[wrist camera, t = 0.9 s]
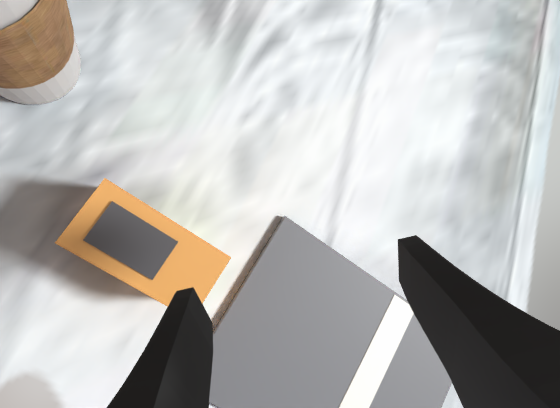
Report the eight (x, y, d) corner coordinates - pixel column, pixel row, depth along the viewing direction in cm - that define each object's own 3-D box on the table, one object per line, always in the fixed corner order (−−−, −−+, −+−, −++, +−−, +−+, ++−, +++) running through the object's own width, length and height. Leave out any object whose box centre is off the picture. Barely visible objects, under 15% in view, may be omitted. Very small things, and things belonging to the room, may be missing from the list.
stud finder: (184, 299, 25) (192, 320, 19) (80, 239, 23) (53, 243, 17) (215, 251, 26) (231, 257, 20) (117, 189, 24) (104, 177, 18)
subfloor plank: (397, 494, 29) (402, 500, 29) (180, 384, 25) (181, 389, 24) (463, 341, 33) (469, 343, 32) (283, 216, 28) (285, 216, 27)
